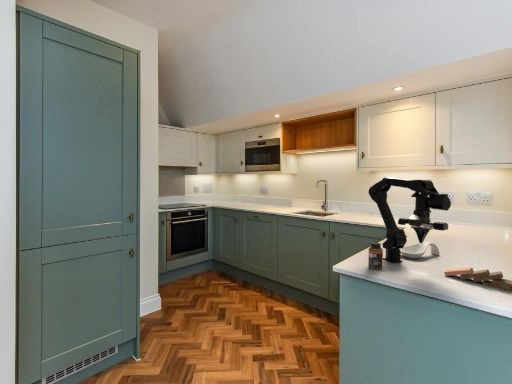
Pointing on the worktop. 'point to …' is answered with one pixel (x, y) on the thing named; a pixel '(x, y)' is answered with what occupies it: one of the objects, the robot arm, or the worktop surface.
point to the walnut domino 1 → (475, 274)
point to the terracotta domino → (458, 271)
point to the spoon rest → (418, 250)
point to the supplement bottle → (375, 256)
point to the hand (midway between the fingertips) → (421, 242)
